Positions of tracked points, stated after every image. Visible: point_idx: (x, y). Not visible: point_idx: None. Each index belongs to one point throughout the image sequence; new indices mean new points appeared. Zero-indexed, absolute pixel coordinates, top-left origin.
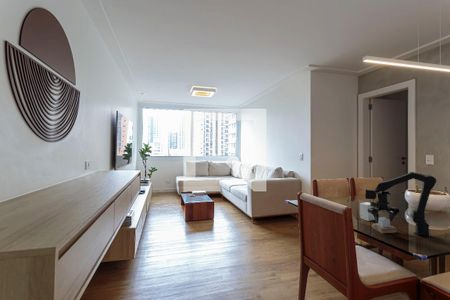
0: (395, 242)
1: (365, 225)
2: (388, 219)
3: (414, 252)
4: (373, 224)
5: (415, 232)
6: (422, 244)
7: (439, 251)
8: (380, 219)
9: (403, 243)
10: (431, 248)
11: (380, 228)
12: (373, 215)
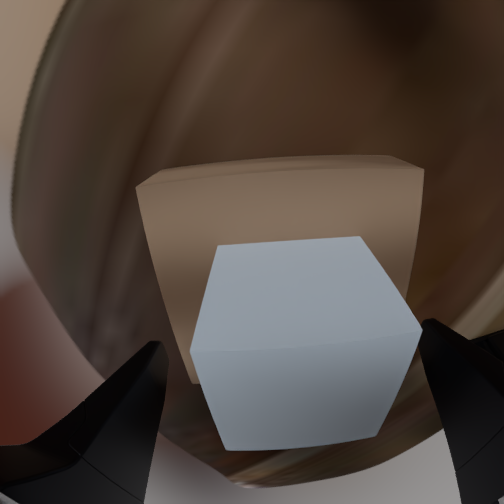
0: (217, 445)
1: (111, 70)
2: (361, 433)
3: (242, 482)
4: (145, 226)
5: (480, 342)
6: (345, 451)
7: (346, 474)
8: (216, 412)
9: (256, 452)
10: (343, 466)
11: (187, 365)
12: (49, 443)
